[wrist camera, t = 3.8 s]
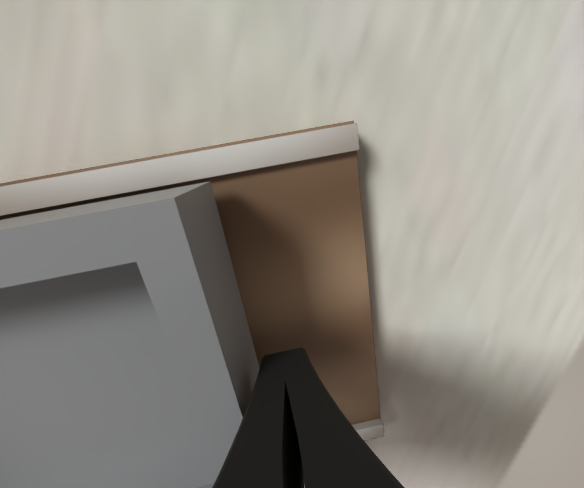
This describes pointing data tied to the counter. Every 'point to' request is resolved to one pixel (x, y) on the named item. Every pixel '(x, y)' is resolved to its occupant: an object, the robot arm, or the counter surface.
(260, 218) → the track
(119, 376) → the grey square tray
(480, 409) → the counter surface
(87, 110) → the counter surface
